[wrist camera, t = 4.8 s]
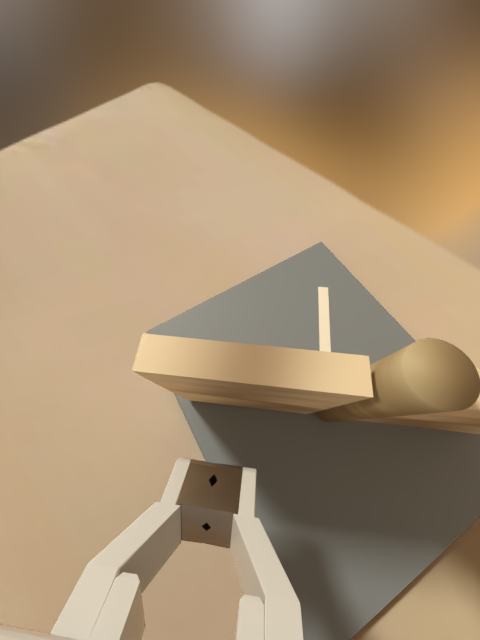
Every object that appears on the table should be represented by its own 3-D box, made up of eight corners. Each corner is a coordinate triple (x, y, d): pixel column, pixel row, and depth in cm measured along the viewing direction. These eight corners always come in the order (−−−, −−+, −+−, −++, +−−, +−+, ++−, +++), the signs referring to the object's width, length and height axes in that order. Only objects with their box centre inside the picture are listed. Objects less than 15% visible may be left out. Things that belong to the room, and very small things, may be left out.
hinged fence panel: (306, 392, 15) (368, 356, 7) (307, 414, 14) (373, 397, 7) (192, 380, 15) (142, 333, 8) (188, 400, 15) (131, 371, 7)
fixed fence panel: (311, 420, 14) (409, 406, 6) (311, 388, 15) (397, 335, 6) (477, 439, 14) (854, 455, 5) (468, 405, 14) (787, 371, 6)
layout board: (304, 671, 10) (307, 681, 10) (147, 333, 17) (145, 331, 17) (526, 465, 13) (535, 466, 13) (319, 245, 20) (321, 241, 19)
